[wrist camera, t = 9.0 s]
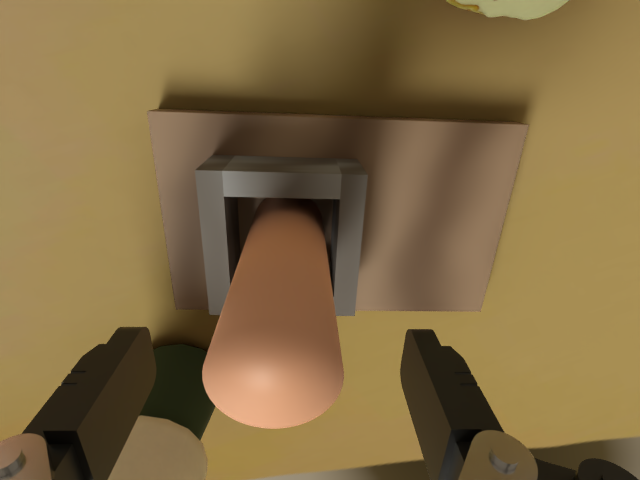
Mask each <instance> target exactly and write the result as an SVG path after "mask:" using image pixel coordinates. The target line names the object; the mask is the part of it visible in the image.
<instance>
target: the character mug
mask: <svg viewBox="0 0 640 480" xmlns="http://www.w3.org/2000/svg"><path fill="white" fill-rule="evenodd" d="M153 352H154V357H155V362H156V378H155V382H154V385H153V388H152V390H151V392H150V394H149V396H148V398H147V400H146V402H145V404H144V406H143V408H142V410H141V412H140V414H139V417H138V419H137V421H136V423H135V425H134V427H133V429H132V431H131V433H130V435H129V437H128V439H127V441H126V443H125V445H124V447H123V449H122V452H121V454H120V456H119V458H118V460H117V462H116V464H115V466H114V468H113V470H112V472H111V474H110V476H109V478H108V480H205V477H206V473H207V456H206V453H205V449H204V446H203V443H202V442H201V441H200V440H201V438H202V435H203V433H204V431H205V429H206V426H207V424H208V422H209V420H210V417H211V415H212V413H213V411H214V408H215V405H214V403H213V402H212V401H211V400H210V398H209V396H208V395H207V393H206V390H205V388H204V384H203V380H202V370H203V364H204V361H205V358H206V355H207V352H205V351H204V350H203V349H200V348H196V347H192V346H188V345H184V344H179V345H168V346H161V347H158V348H156V349H154V350H153Z"/></svg>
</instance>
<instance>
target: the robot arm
mask: <svg viewBox="0 0 640 480" xmlns="http://www.w3.org/2000/svg"><path fill="white" fill-rule="evenodd" d="M400 376H401V384H402V388H403V391H404V395H405V398H406V401H407V405H408V408H409V411H410V414H411V418H412V421H413V424H414V428H415V431H416V434H417V437H418V441H419V444H420V447H421V450H422V454H423V457H424V460H425V464H426V467H427V470H428V473H429V477H430V480H638V479H637V478H636V477H634V476H633V475H632V474H631V473H629V472H628V471H626V470H625V469H623V468H621V467H620V466H617V465H616V464H614V463H611V462H608V461H606V460H601V459H595V458H594V459H586V460H584V461H582V462H581V463H580V465H579V467H578V469H577V471H575V470H572V469H568V468H565V467H561V466H558V465H555V464H551V463H548V462H544V461H541V460H538V459H536V458H534V457H533V455H532V454H531V453H530V451H529V450H528V449H527V448H526V447H525V446H524V445H523V444H522V443H521V442H520V441H518V440H517V439H515V438H514V437H512V436H510V435H508V434H506V433H504V431H503V429H502V427H501V426H500V424H499V422H498V420H497V418H496V417H495V415H494V413H493V411H492V409H491V407H490V406H489V404H488V402H487V400H486V398H485V397H484V395H483V393H482V391H481V389H480V387H479V386H477V382H476V380H475V378H474V377H473V375H471V371H470V369H469V367H468V366H467V364H466V362H465V360H464V358H463V357H462V356H460V355H459V354H458V353H457V352H456V351H455V350H454V349H453V348H452V347H451V346H441V345H440V343H439V341H438V339H437V337H436V335H435V333H434V331H433V330H431V329H408V330H407V332H406V337H405V343H404V349H403V355H402V361H401V368H400ZM155 378H156V362H155V357H154V352H153V347H152V342H151V337H150V332H149V329H148V328H147V327H120V328H118V329H117V330H116V331H115V333H114V334H113V335H112V337H111V338H110V340H109V341H108V342H107V344H99V345H97V346H96V347H95V348H93V349H92V350H91V351H89V352H88V353H86V354H85V355H84V356H82V358H81V359H80V360H79V361H78V363H77V364H76V365H75V366H74V368H73V369H72V370H71V374H68V375H67V377H66V378H65V379H64V380H63V382H62V384H61V386H59V387H58V388H57V389H56V391H55V392H54V393H53V394H52V396H51V397H50V398H49V399H48V401H47V402H46V403H45V405H44V406H43V407H42V408H41V410H40V411H39V412H38V413H37V415H36V416H35V417H34V419H33V420H32V421H31V422H30V424H29V425H28V426H27V427H26V429H25V430H24V431H23V433H22V434H20V435H16V436H12V437H10V438H7V439H5V440H3V441H1V442H0V480H108V478H109V476H110V474H111V472H112V470H113V468H114V466H115V464H116V462H117V460H118V458H119V456H120V454H121V452H122V449H123V447H124V445H125V443H126V441H127V439H128V437H129V435H130V433H131V431H132V429H133V427H134V425H135V423H136V421H137V419H138V417H139V414H140V412H141V410H142V408H143V406H144V404H145V402H146V400H147V398H148V396H149V394H150V392H151V390H152V388H153V385H154V382H155Z"/></svg>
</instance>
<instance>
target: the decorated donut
mask: <svg viewBox="0 0 640 480" xmlns="http://www.w3.org/2000/svg"><path fill="white" fill-rule="evenodd" d="M446 1H447V2H448V3H450V4H452V5H454V6H456V7H457V8H461V9H465V10H469V11H473V12H477V13H480V14H484V15H486V16H487V17H498V16H508V17H512V18H518V19H522V20H530V19H536V18H540V17H542V16H545V15H547V14H549V13H551V12H553V11H555V10H557V9H558V8H560V7H561V6H563V5H564V4H565V3H566V2H568V1H569V0H446Z"/></svg>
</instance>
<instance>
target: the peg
mask: <svg viewBox="0 0 640 480" xmlns="http://www.w3.org/2000/svg"><path fill="white" fill-rule="evenodd" d="M202 380H203V384H204V388H205V390H206V393H207V395H208V396H209V398H210V400H211V401H212V402H213V403H214V405H215V406H216V407H217V408H218V409H219V410H220V411H222V412H223V413H224V414H226V415H227V416H229V417H231V418H232V419H234V420H236V421H239V422H241V423H244V424H247V425H250V426H255V427H260V428H274V429H275V428H287V427H293V426H297V425H300V424H303V423H306V422H308V421H311V420H313V419H315V418H316V417H318V416H320V415H321V414H322V413H324V412H325V411H326V410H327V409H328V408H329V407H330V406H331V405H332V404H333V403H334V402H335V400H336V399H337V397H338V395H339V394H340V391H341V388H342V386H343V380H344V371H343V363H342V356H341V349H340V342H339V335H338V328H337V321H336V313H335V306H334V299H333V292H332V285H331V278H330V271H329V263H328V256H327V249H326V242H325V235H324V228H323V221H322V215H321V212H320V210H319V208H318V207H317V205H316V204H315V203H314V202H313V201H312V200H311V199H304V198H266V199H265V200H263V201H262V203H261V204H260V205H259V207H258V208H257V210H256V213H255V216H254V219H253V222H252V224H251V227H250V230H249V233H248V236H247V239H246V242H245V245H244V248H243V251H242V254H241V256H240V259H239V262H238V265H237V268H236V271H235V274H234V277H233V280H232V283H231V285H230V288H229V291H228V294H227V297H226V300H225V303H224V306H223V309H222V312H221V315H220V317H219V320H218V323H217V326H216V329H215V332H214V335H213V338H212V341H211V344H210V346H209V349H208V352H207V355H206V358H205V361H204V364H203V370H202Z"/></svg>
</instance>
